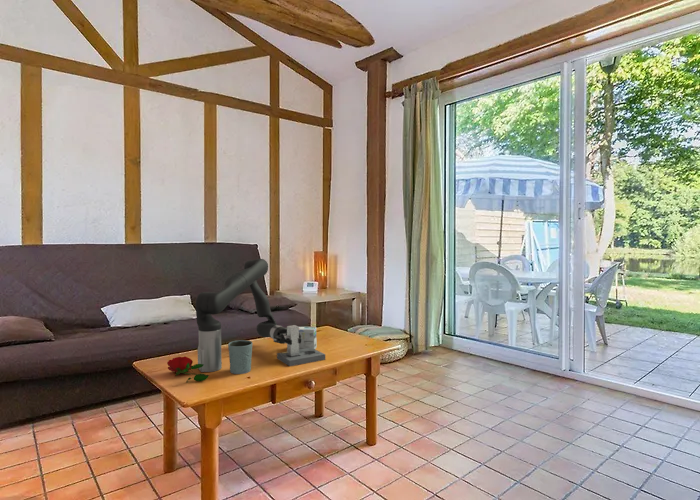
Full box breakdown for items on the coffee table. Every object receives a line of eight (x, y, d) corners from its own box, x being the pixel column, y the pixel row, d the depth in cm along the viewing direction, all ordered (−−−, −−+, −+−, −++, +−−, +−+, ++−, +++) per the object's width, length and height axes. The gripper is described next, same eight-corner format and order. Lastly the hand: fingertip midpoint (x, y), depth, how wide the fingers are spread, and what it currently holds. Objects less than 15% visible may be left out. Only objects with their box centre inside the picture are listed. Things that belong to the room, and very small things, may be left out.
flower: (214, 356, 164) (173, 349, 182) (195, 373, 157) (155, 365, 176) (225, 374, 167) (184, 366, 186) (207, 392, 160) (166, 381, 179)
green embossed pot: (243, 365, 188) (243, 338, 188) (257, 370, 182) (257, 342, 182) (223, 371, 181) (223, 343, 180) (238, 376, 174) (237, 347, 174)
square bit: (290, 360, 193) (290, 327, 193) (287, 358, 197) (287, 326, 196) (298, 359, 195) (298, 326, 195) (295, 357, 199) (294, 325, 198)
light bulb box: (316, 347, 219) (316, 326, 219) (314, 350, 212) (314, 329, 212) (296, 346, 220) (296, 326, 220) (293, 350, 213) (293, 329, 213)
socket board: (289, 366, 187) (289, 360, 187) (276, 358, 199) (276, 352, 199) (325, 359, 197) (325, 353, 197) (311, 352, 209) (311, 347, 209)
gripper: (266, 328, 203) (281, 335, 189) (293, 324, 211) (309, 331, 197) (266, 343, 204) (281, 352, 189) (293, 339, 212) (309, 347, 197)
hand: (295, 341), depth 193 cm, fingers closed on square bit, 4 cm apart
